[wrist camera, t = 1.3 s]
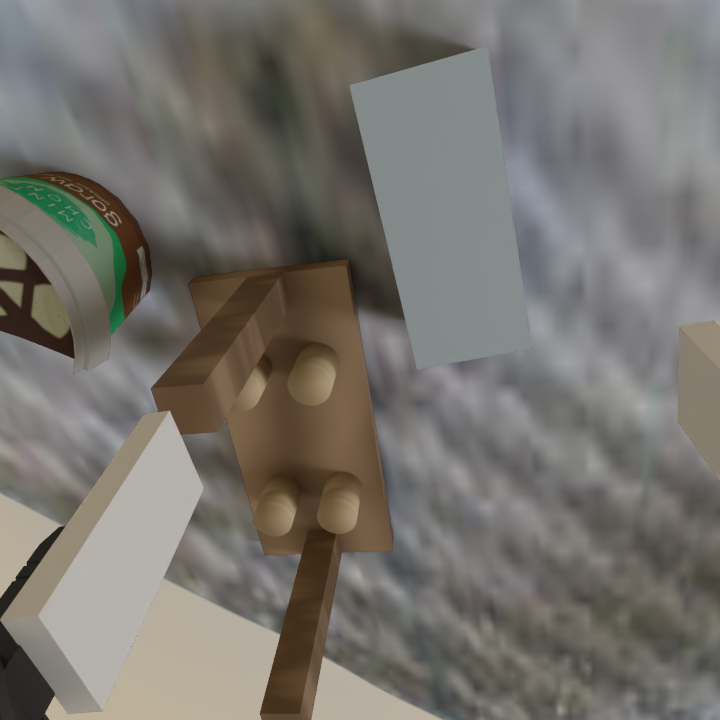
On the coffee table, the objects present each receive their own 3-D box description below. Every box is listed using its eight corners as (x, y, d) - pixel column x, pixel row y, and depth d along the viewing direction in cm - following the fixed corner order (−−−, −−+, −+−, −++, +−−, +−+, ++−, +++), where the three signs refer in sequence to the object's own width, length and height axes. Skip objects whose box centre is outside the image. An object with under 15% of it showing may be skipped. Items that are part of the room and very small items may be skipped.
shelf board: (476, 49, 28) (487, 46, 23) (516, 303, 33) (532, 348, 28) (363, 81, 29) (349, 85, 24) (419, 322, 35) (417, 369, 29)
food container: (200, 203, 33) (113, 255, 24) (173, 300, 35) (86, 379, 26) (-20, 110, 32) (-196, 126, 23) (-30, 217, 34) (-191, 269, 26)
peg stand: (348, 259, 33) (299, 375, 21) (393, 538, 42) (377, 741, 29) (195, 276, 35) (62, 396, 22) (268, 543, 43) (202, 738, 30)
